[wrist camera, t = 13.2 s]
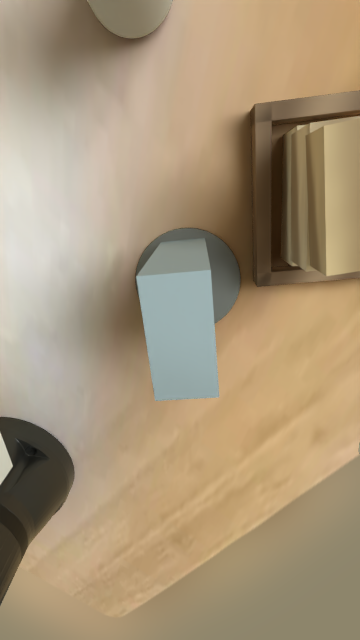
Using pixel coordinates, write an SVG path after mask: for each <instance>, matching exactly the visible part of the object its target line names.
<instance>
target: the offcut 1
mask: <svg viewBox="0 0 360 640" xmlns="http://www.w3.org/2000/svg"><path fill="white" fill-rule="evenodd" d="M304 126H306V125H300V126H296V127H295V128H293V129H292V130H290V131H289V132H287V133H286V134H284V135H283V178H282V228H281V258H282V259H284V260H285V261H286V262H287V263H289V264H290V265H291V266H298V265H296V264H295V263H293V262H292V261H291V260H290V254H291V134H293V133H295V132H296V131H298V130H299V129H301V128H303V127H304Z"/></svg>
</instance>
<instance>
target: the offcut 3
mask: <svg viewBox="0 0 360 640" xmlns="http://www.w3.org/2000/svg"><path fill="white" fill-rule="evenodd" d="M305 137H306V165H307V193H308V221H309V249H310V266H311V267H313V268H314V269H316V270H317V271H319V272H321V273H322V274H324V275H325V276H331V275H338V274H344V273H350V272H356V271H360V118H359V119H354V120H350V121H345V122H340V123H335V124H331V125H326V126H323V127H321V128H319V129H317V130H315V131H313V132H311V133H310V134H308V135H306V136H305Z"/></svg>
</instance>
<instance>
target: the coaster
mask: <svg viewBox="0 0 360 640" xmlns="http://www.w3.org/2000/svg"><path fill="white" fill-rule="evenodd" d="M199 238H205V242H206V247H207V252H208V258H209V263H210V268H211V280H212V295H213V310H214V324H215V323H216V322H218V321H219V320H221V319H222V318H223V317H224V316H225V315H226V314H227V313H228V312H229V311H230V309H231V308H232V306H233V305H234V303H235V301H236V299H237V296H238V293H239V289H240V270H239V266H238V263H237V261H236V258H235V256H234V254H233V253H232V251H231V250H230V248H229V247H228V246H227V245H226V244H225V243H224V242H223V241H222V240H221V239H219V238H218V237H217V236H215V235H213V234H212V233H209V232H207V231H204V230H200V229H195V228H181V229H175V230H172V231H169V232H167V233H164V234H162V235H161V236H159V237H158V238H156V239H155V240H154V241H153V242H152V243H151V244H150V245H149V246H148V247H147V248H146V249H145V251H144V252H143V254H142V256H141V258H140V260H139V263H138V266H137V270H136V276H137V275H138V273H139V272H140V271H141V269H142V268H143V266H144V265H145V264H146V262H147V261H148V260H149V258H150V257H151V255H152V254H153V253H154V251H155V250H156V248H157V247H158V246H159V244H160V243H161V242H168V241H178V240H189V239H199ZM136 289H137V293H138V296H139V291H138V285H137V278H136ZM139 299H140V298H139Z"/></svg>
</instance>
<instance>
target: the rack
mask: <svg viewBox="0 0 360 640" xmlns="http://www.w3.org/2000/svg"><path fill="white" fill-rule="evenodd" d="M358 114H360V90H359V91H352V92H344V93H336V94H328V95H321V96H313V97H305V98H297V99H290V100H282V101H274V102H266V103H258V104H255V105H254V106H253V108H252V109H251V149H252V208H253V267H254V282H255V284H256V285H257V287H258V286H270V285H282V284H294V283H307V282H319V281H331V280H343V279H355V278H360V271H356V272H350V273H344V274H338V275H331V276H325V275H324V274H322V273H321V272H319V271H307V272H306V271H305V270H303V269H302V268H300V267H299V266H291V265H288V266H277V267H271V144H272V125H277V124H285V123H293V122H301V121H309V120H318V119H326V118H334V117H342V116H350V115H358Z"/></svg>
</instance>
